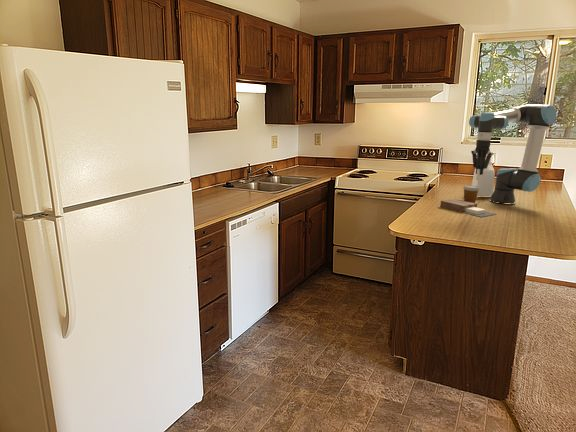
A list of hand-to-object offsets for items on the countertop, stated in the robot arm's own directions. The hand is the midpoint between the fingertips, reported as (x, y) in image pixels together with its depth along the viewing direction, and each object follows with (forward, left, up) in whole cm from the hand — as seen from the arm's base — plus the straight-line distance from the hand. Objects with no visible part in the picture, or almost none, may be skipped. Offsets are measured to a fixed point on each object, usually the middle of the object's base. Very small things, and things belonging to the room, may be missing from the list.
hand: (478, 179), depth 254 cm
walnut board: (0, -11, -20) cm, 23 cm away
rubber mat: (0, +4, -20) cm, 20 cm away
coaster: (0, +1, -19) cm, 19 cm away
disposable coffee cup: (-17, -15, -20) cm, 30 cm away
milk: (-51, -29, -20) cm, 62 cm away
